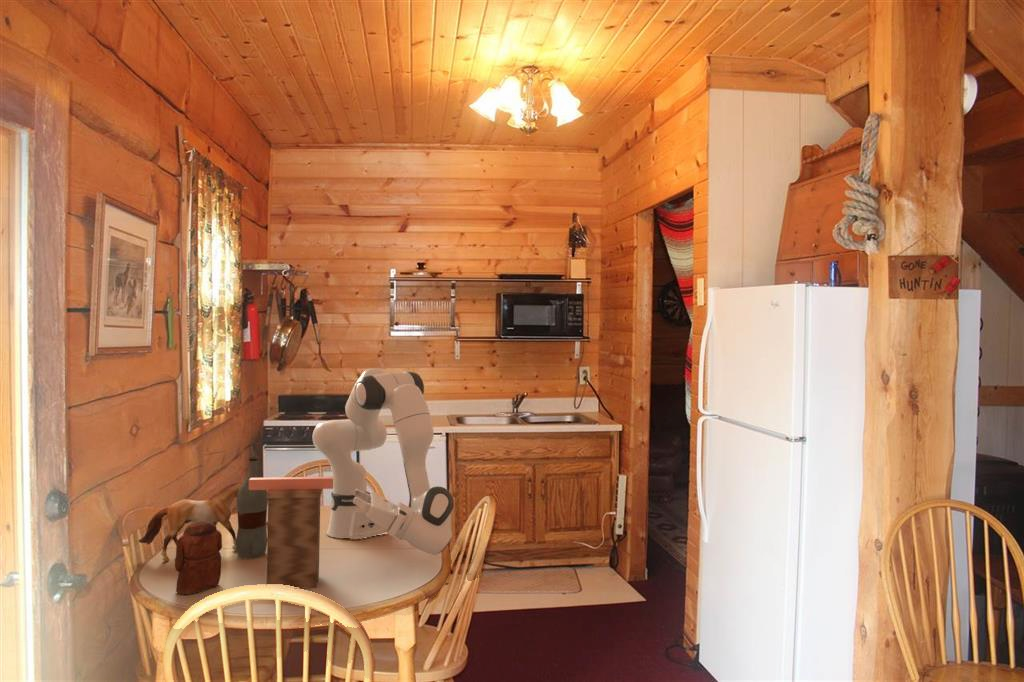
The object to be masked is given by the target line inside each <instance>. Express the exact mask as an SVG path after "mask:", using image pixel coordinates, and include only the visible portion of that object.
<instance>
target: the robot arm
mask: <svg viewBox="0 0 1024 682" xmlns="http://www.w3.org/2000/svg"><path fill="white" fill-rule="evenodd" d="M424 392H425V385H424V381H423V379H422V377H421V375H419V373H416V372H413V371H402V372H401V371H392V372H385V371H384V370H382V369H379V368H373V367H372V368H367V369H366V370H364V371H363V373H362V374H361V375H360V376H359V378H357V381H356V382H355V384H354V385H353V388H352V390H351V392H350V394H349V397H348V399H347V401H346V403H345V406H344V409H345V414H346V417H347V418H348V419H331V420H328V421H327V420H326V421H323V422H320V423H317V425H316V426H314V427H315V428H314V430H313V432H312V437H311V438H312V443H313V445H314V446H313V447H315V449H317V451H318V452H320V453H321V454H322V455H323V456H324V457H325V458H326V459H327V460H328V463H329V465H330V468H331V475H332V476H331V477H333V489H332V491H331V492H330V493H331V495H330V509H331V510H330V512H331V513H330V517H329V518H330V519H329V523H328V524H329V525H328V528H327V531H326V535H327V536H329V537H330V538H334V537H335V539H343V538H350V539H349V540H352V539H360V540H362V539H361V538H364V537H370V536H374V535H378V534H382V533H385V532H387V534H386V535H388V536H390V537H392V538H394V537H396V538H397V539H399V540H403V541H406V542H407V543H409V544H410V546H412V547H414V548H416V549H418V550H420V551H422V552H424V553H426V554H429V555H433V556H434V555H438V554H440V553H442V552H444V550H445V549H446V548H447V547H448V546H449V544H450V543H451V541H452V539H453V532H452V526H451V525H452V524H451V521H452V514H453V509H454V506H455V502H454V501H455V500H454V496H453V495H452V493H451V492H450V491H449V490H448V489H447V488H446V487H443V486H433V487H430V483H429V477H428V472H427V466H426V460H427V455H428V451H429V448H430V446H431V444H432V443H433V440H434V436H435V435H434V425H433V420H432V416H431V412H430V409H429V407H428V403H427V401H426V398H425V397H424ZM388 409H389V410H390V412H391V414H392V415H391V416H392V421H393V425H394V429H395V433H396V436H397V439H398V443H399V447H400V452H401V456H402V462H403V468H404V473H405V478H406V482H407V488H408V493H409V502H408V505H406V504H404V503H402V502H398V503H397V504H395V503H393V502H392V501H390V500H389V499H387V498H386V497H384V496H382V495H380V494H379V493H377V492H375V491H370V492H369V491H367V490H366V489H367V486H366V485H367V483H366V482H367V472H366V468H365V467H364V466H363V465H362V464H361V463H360V462H358V461H355V460H353V459H352V453H353V452H362V451H370V450H374V449H378V448H381V447H382V446H384V444H385V443H386V440H387V437H388V432H387V427H386V425H385V423H384V422H383V421H382V420H380V419H379V414H380V412H381V410H388ZM370 538H371V537H370Z"/></svg>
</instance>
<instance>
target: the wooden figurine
mask: <svg viewBox="0 0 1024 682" xmlns="http://www.w3.org/2000/svg"><path fill="white" fill-rule="evenodd" d="M222 538H223V535H222V532H221V531H220V530H218V529H217V525H216V526H215V525H214V524H213V523H211V522H209V521H204V520H200V521H196V522H191V523H190V524H189V525H187V527H185V529H184V531H183V532H182V536H180V537H179V538H177V540H178V541H177V546H176V549H175V559H174V567H175V571H176V572H178V574H177V579H176V587H175V588H176V589H175V593H176V592H177V593H176V594H178V593H179V595H183V594H187V595H191V594H192V593H193V594H196V592H197V593H199V591H200V592H202V591H205V590H207V589H210V588H213V587H217V586H218V585H219V583H220V579H221V573H222V556H221V552H220V551H221V550H222V548H223V539H222ZM193 594H192V595H193Z"/></svg>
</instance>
